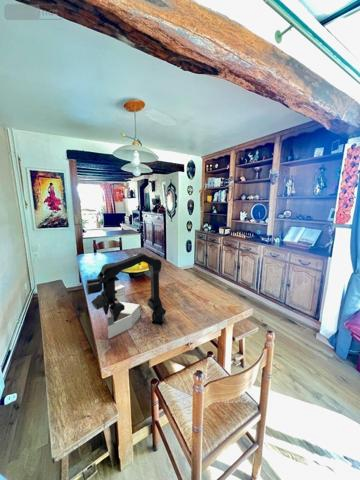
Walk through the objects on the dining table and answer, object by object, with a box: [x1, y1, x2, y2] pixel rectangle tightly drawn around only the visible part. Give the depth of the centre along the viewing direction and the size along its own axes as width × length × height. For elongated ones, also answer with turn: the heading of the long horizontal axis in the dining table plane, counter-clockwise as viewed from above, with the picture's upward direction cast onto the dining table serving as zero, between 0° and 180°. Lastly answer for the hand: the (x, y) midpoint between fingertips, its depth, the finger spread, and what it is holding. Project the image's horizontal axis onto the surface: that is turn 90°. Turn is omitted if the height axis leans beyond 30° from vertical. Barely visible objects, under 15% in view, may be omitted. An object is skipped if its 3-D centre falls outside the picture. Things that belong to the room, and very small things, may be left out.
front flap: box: [107, 315, 133, 339], centre depth 109 cm, size 14×1×12 cm, turn 136°
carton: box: [108, 301, 141, 327], centre depth 122 cm, size 14×11×8 cm
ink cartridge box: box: [115, 280, 126, 303], centre depth 141 cm, size 9×5×15 cm, turn 141°
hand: (110, 317), depth 104 cm, fingers open, 9 cm apart
